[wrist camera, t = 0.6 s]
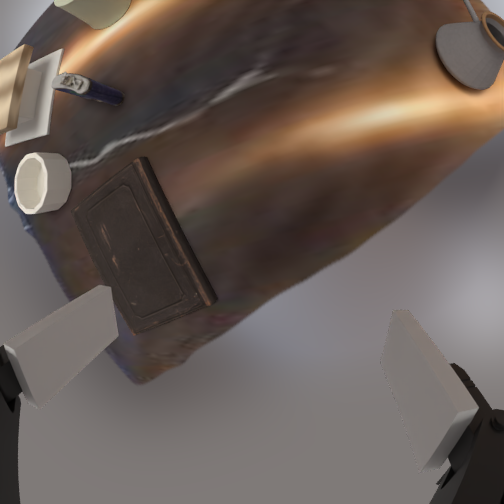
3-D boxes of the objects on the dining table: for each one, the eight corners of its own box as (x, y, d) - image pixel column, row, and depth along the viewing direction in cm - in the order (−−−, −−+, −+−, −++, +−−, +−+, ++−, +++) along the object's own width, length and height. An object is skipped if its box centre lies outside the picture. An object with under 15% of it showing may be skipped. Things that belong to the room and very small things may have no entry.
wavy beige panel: (1, 67, 31) (-7, 65, 28) (33, 47, 29) (24, 44, 27) (-13, 139, 35) (-22, 139, 32) (17, 128, 33) (6, 127, 31)
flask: (82, 98, 38) (40, 85, 27) (89, 83, 37) (48, 67, 26) (120, 108, 37) (77, 92, 27) (128, 90, 37) (87, 71, 26)
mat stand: (19, 71, 38) (-3, 66, 31) (64, 49, 36) (41, 39, 29) (6, 146, 42) (-17, 146, 35) (49, 134, 40) (22, 131, 33)
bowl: (38, 157, 41) (15, 157, 35) (72, 151, 40) (48, 149, 34) (37, 209, 43) (15, 213, 38) (71, 209, 42) (47, 214, 36)
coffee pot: (496, 82, 27) (550, 59, 13) (459, 103, 30) (518, 78, 15) (418, -17, 25) (447, -63, 10) (373, -5, 28) (396, -61, 13)
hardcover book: (139, 329, 46) (133, 335, 43) (79, 209, 42) (70, 210, 40) (219, 297, 42) (215, 303, 40) (148, 156, 39) (140, 155, 37)
